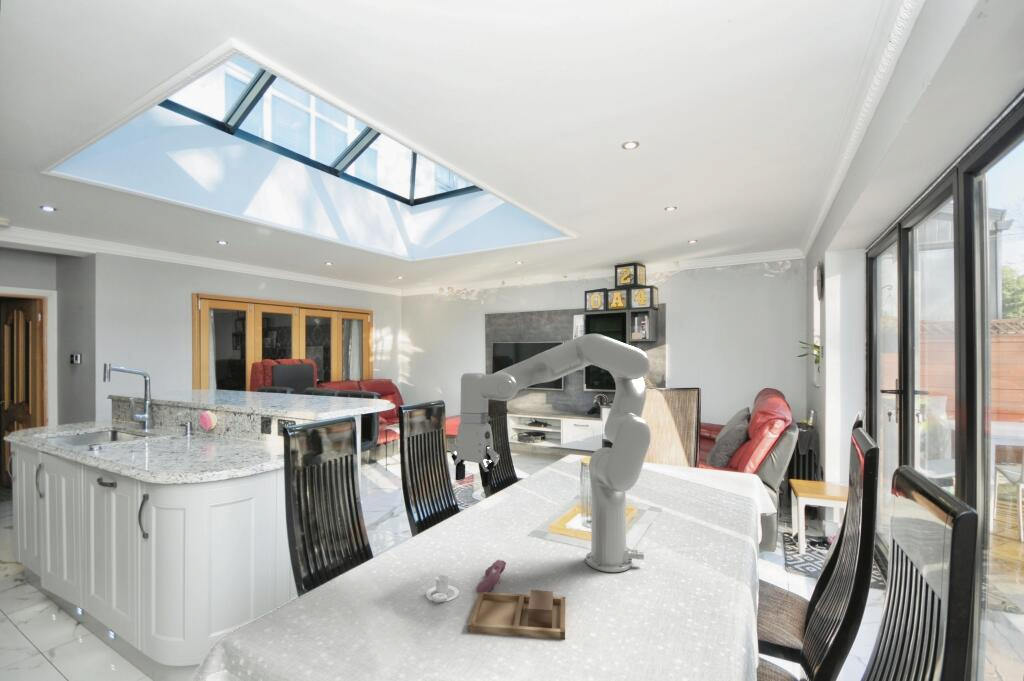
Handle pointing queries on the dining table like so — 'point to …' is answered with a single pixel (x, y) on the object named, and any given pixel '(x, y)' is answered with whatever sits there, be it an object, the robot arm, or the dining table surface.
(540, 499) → the dining table surface
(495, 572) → the video game controller
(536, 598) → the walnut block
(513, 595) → the oak organiser tray
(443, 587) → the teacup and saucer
